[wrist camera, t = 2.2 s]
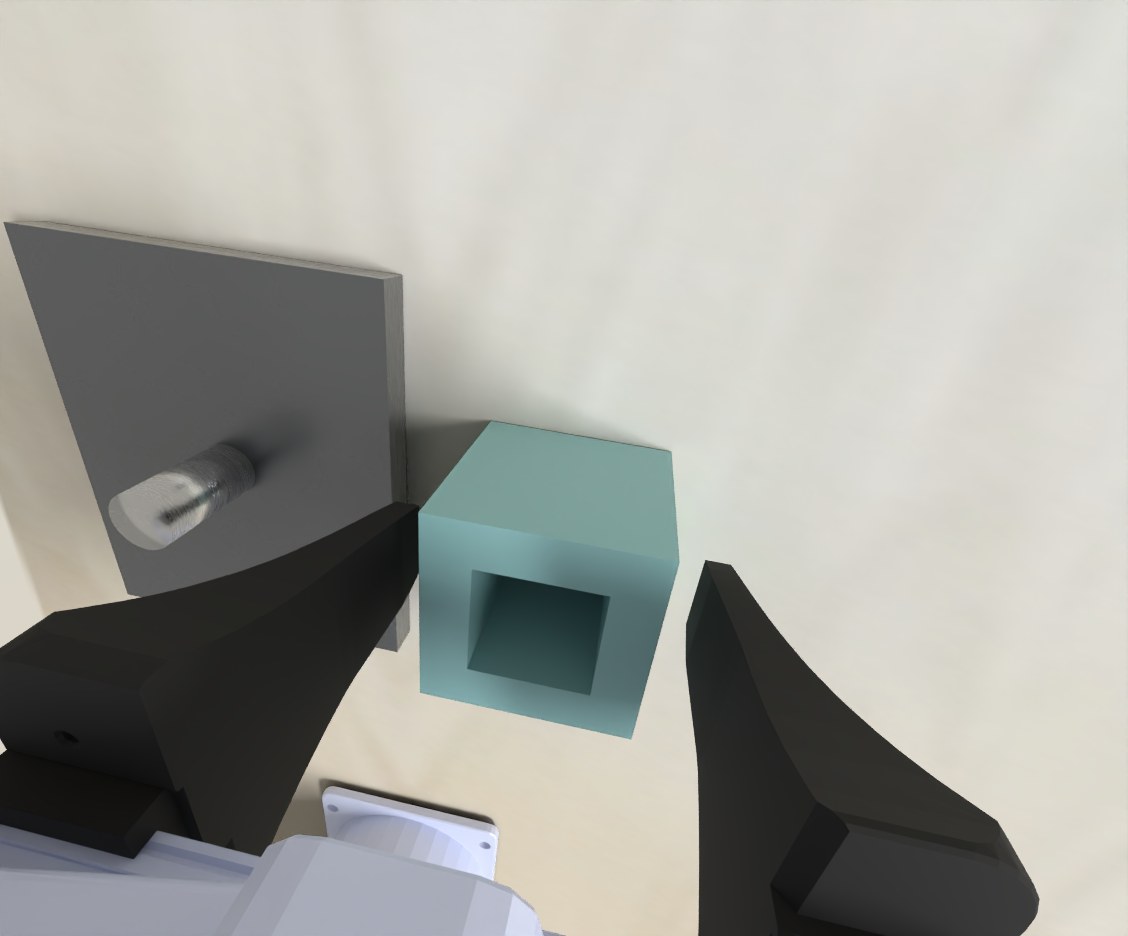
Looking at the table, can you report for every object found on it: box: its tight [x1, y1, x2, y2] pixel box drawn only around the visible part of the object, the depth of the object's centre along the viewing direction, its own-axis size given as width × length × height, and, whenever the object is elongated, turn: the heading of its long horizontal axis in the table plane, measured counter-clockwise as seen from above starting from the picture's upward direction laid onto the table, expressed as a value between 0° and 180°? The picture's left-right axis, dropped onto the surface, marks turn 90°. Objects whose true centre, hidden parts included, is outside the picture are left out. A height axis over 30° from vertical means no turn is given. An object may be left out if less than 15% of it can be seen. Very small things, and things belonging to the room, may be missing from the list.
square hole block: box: [418, 421, 679, 739], centre depth 13 cm, size 5×5×5 cm
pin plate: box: [4, 222, 410, 652], centre depth 14 cm, size 12×10×4 cm
